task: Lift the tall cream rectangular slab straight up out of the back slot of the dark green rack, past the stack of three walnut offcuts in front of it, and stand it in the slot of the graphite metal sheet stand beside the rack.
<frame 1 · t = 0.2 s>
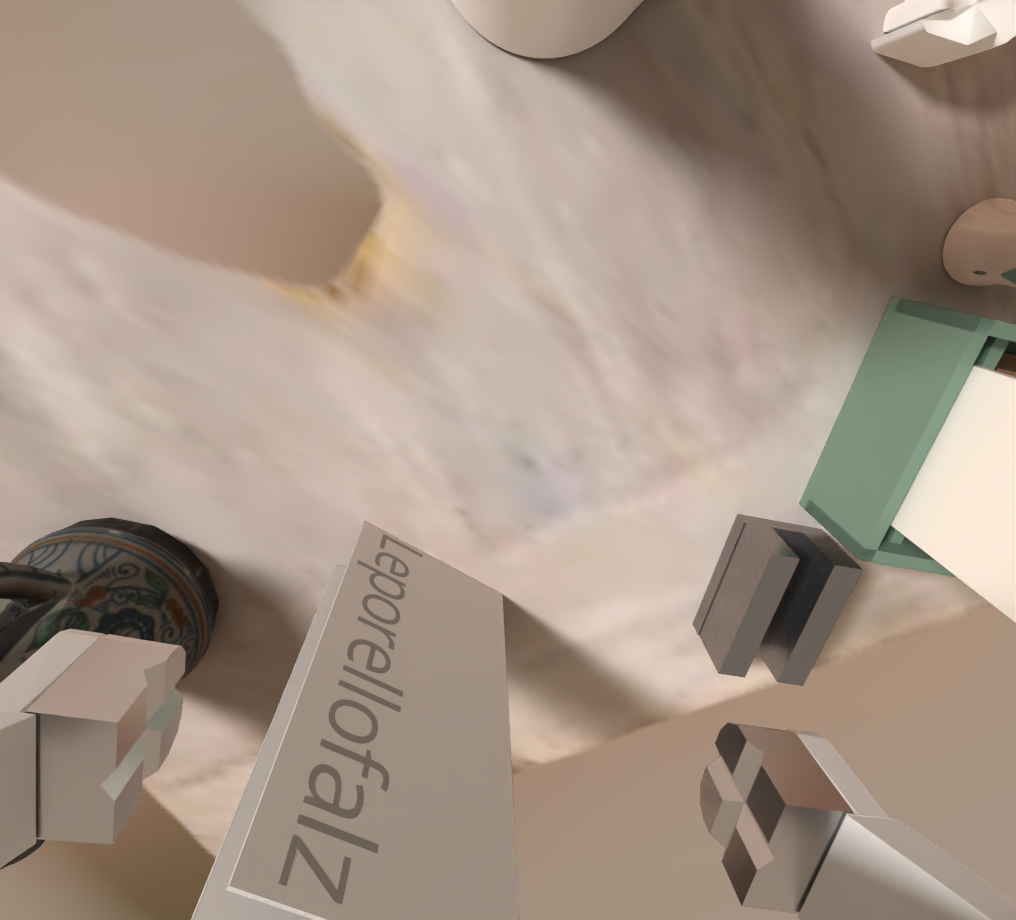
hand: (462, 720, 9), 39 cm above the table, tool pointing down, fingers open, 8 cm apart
offcut rack: (919, 423, 50), on the table
sheet stand: (754, 578, 55), on the table
cream rectangular slab: (874, 416, 48), point 1 cm above the table, touching offcut rack
brochure: (420, 579, 54), on the table
beer glass: (980, 242, 45), on the table
beer stein: (118, 580, 53), on the table
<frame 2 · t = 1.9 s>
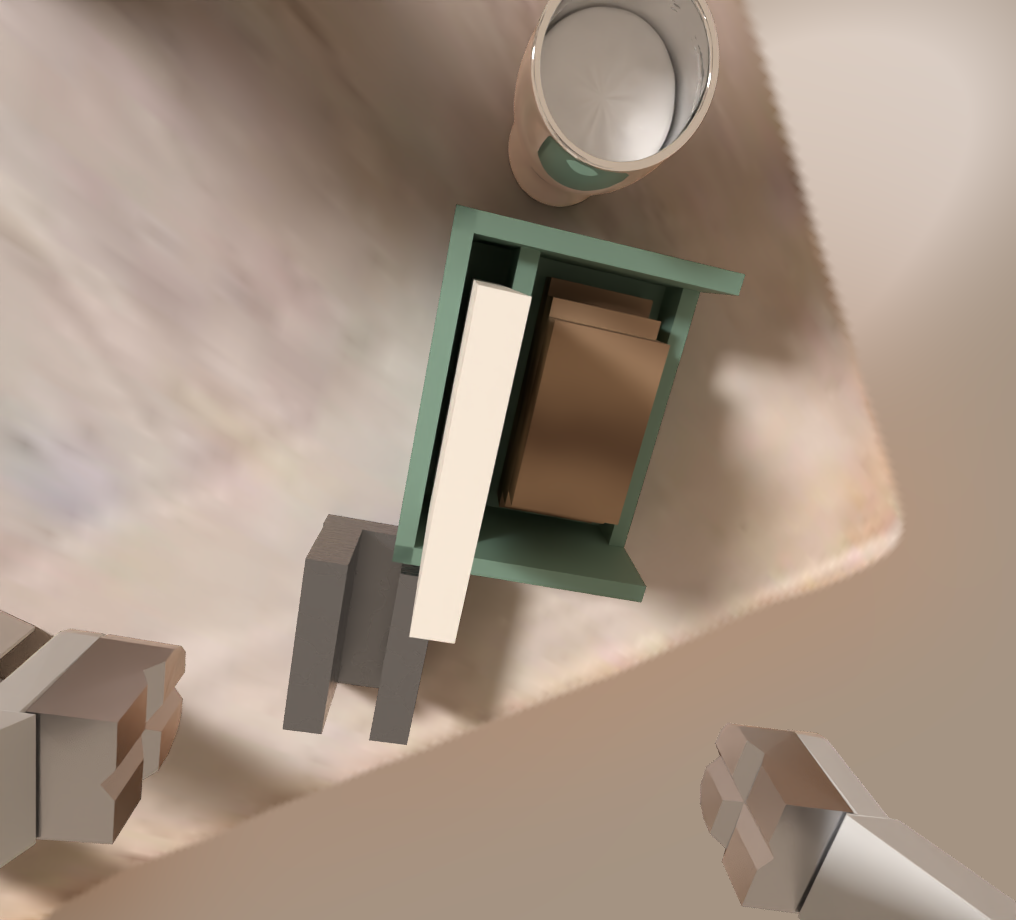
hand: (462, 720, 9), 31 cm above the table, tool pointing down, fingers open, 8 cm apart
offcut rack: (538, 391, 39), on the table
bottom offcut: (566, 399, 38), point 1 cm above the table, touching middle offcut, offcut rack
sheet stand: (374, 601, 43), on the table
cream rectangular slab: (465, 379, 37), point 1 cm above the table, touching offcut rack
beer glass: (559, 150, 35), on the table
middle offcut: (572, 408, 36), point 3 cm above the table, touching bottom offcut, top offcut
top offcut: (580, 417, 34), point 6 cm above the table, touching middle offcut
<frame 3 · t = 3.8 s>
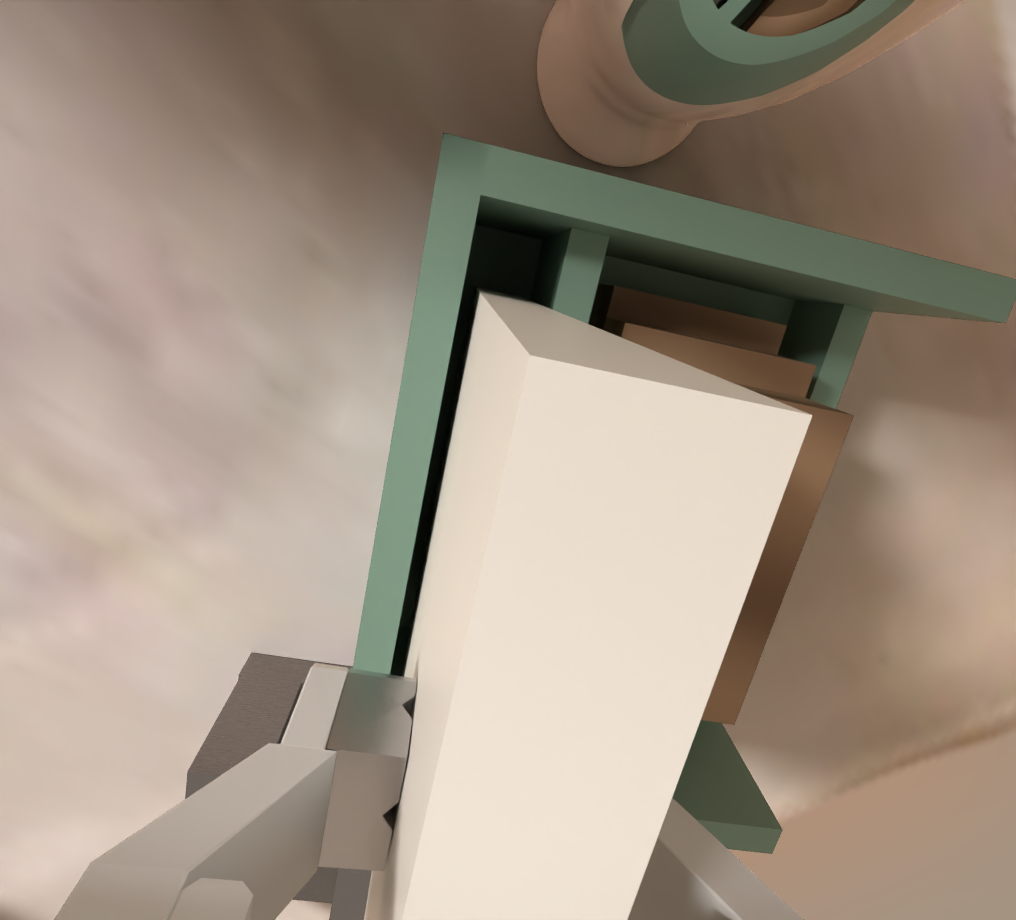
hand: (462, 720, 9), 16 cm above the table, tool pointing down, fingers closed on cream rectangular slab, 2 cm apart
offcut rack: (580, 465, 25), on the table
bottom offcut: (626, 481, 24), point 1 cm above the table, touching middle offcut, offcut rack
sheet stand: (326, 774, 28), on the table
cream rectangular slab: (464, 450, 23), point 1 cm above the table, touching gripper, offcut rack
beer glass: (623, 71, 21), on the table
middle offcut: (643, 503, 21), point 3 cm above the table, touching bottom offcut, top offcut
top offcut: (664, 530, 19), point 6 cm above the table, touching middle offcut
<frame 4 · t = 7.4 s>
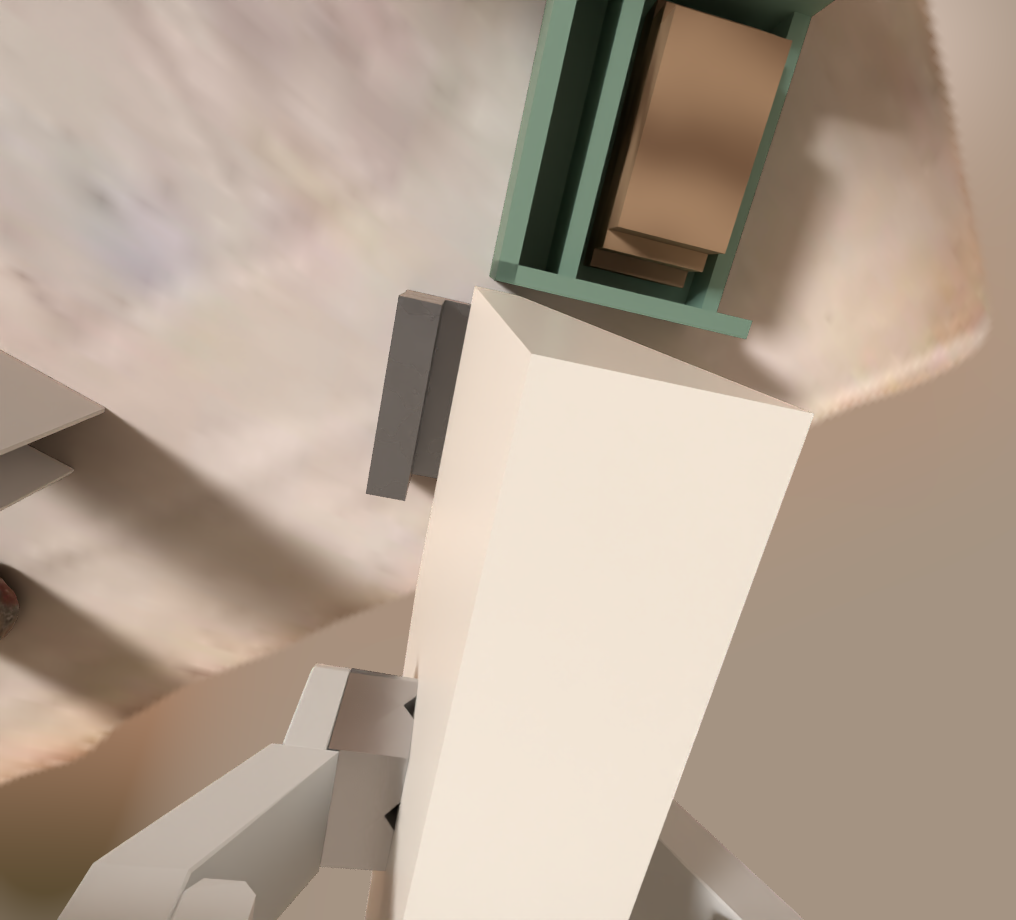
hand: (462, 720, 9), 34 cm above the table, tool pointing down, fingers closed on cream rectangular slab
offcut rack: (628, 155, 38), on the table
bottom offcut: (659, 159, 37), point 1 cm above the table, touching middle offcut, offcut rack
sheet stand: (450, 390, 42), on the table
cream rectangular slab: (464, 450, 23), point 19 cm above the table, touching gripper
middle offcut: (671, 153, 35), point 3 cm above the table, touching bottom offcut, top offcut
top offcut: (685, 145, 32), point 6 cm above the table, touching middle offcut
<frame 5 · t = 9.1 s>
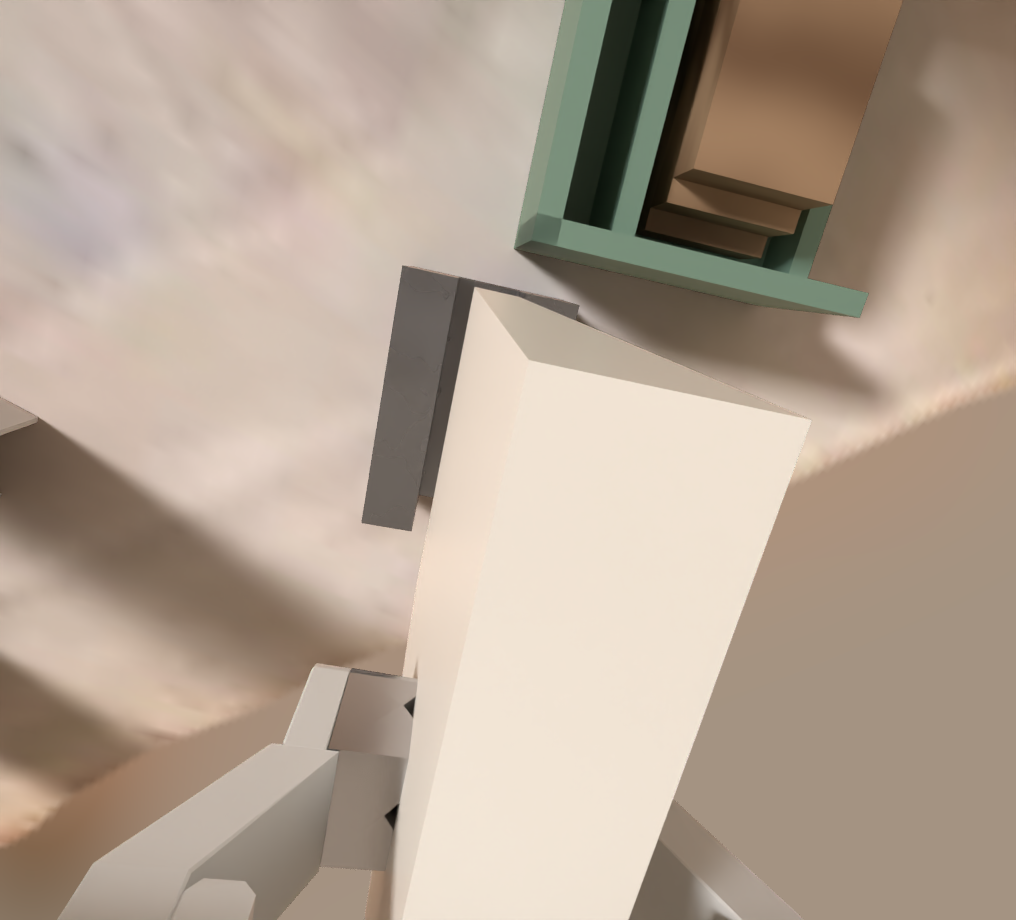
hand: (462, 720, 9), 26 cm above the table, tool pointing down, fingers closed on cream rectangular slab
offcut rack: (688, 94, 30), on the table
bottom offcut: (728, 97, 29), point 1 cm above the table, touching middle offcut, offcut rack
sheet stand: (465, 391, 34), on the table
cream rectangular slab: (463, 451, 23), point 11 cm above the table, touching gripper
middle offcut: (750, 82, 27), point 3 cm above the table, touching bottom offcut, top offcut
top offcut: (777, 65, 25), point 6 cm above the table, touching middle offcut
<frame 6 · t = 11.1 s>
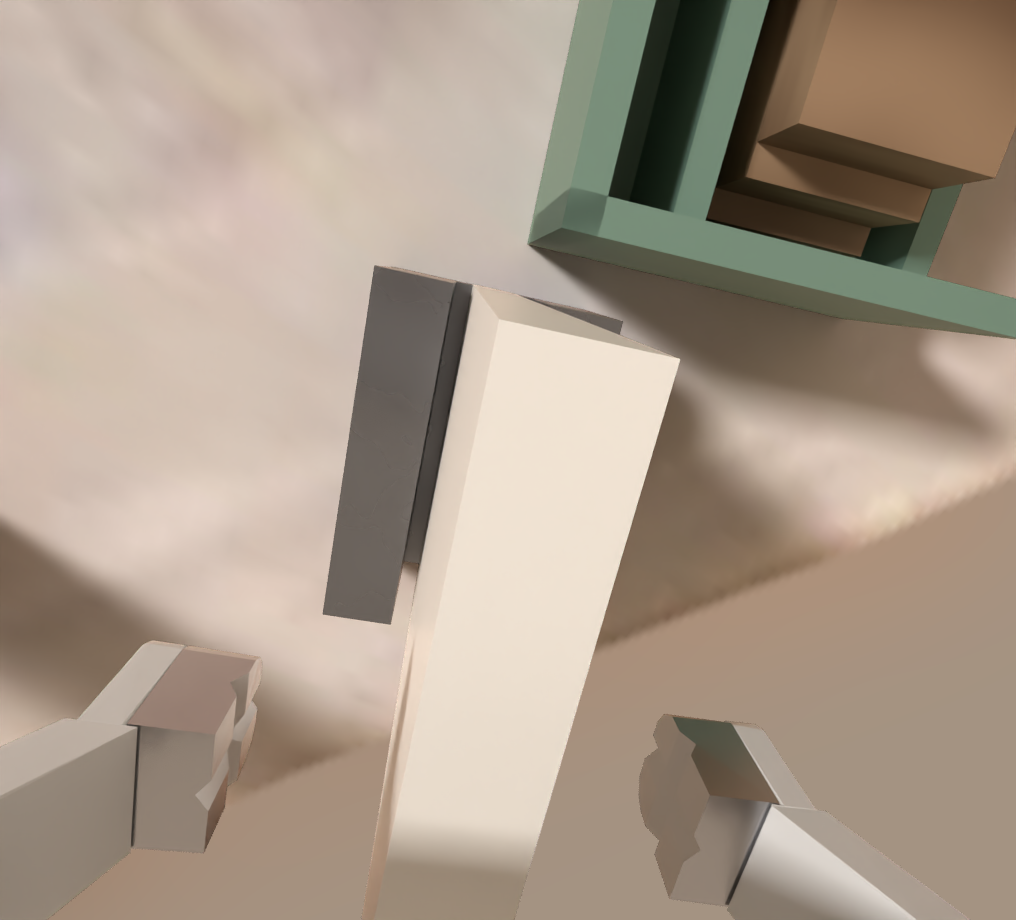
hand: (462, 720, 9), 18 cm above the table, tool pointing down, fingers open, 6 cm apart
offcut rack: (761, 39, 23), on the table
bottom offcut: (816, 41, 22), point 1 cm above the table, touching middle offcut, offcut rack
sheet stand: (464, 428, 26), on the table
cream rectangular slab: (463, 436, 25), point 2 cm above the table, touching sheet stand
middle offcut: (857, 14, 20), point 3 cm above the table, touching bottom offcut, top offcut
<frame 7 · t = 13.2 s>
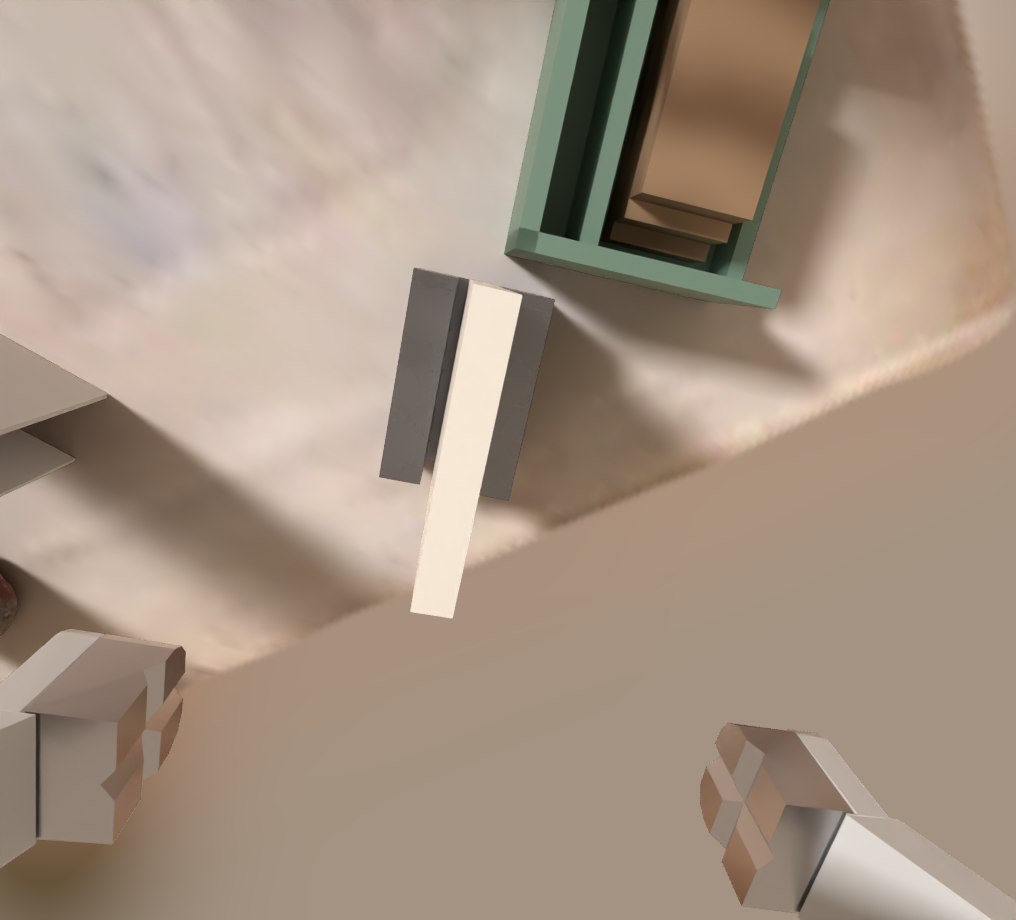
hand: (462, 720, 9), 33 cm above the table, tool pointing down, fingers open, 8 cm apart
offcut rack: (646, 128, 37), on the table
bottom offcut: (678, 131, 36), point 1 cm above the table, touching middle offcut, offcut rack
sheet stand: (464, 373, 40), on the table
cream rectangular slab: (463, 376, 39), point 1 cm above the table, touching sheet stand
middle offcut: (693, 121, 34), point 3 cm above the table, touching bottom offcut, top offcut
top offcut: (709, 110, 31), point 6 cm above the table, touching middle offcut
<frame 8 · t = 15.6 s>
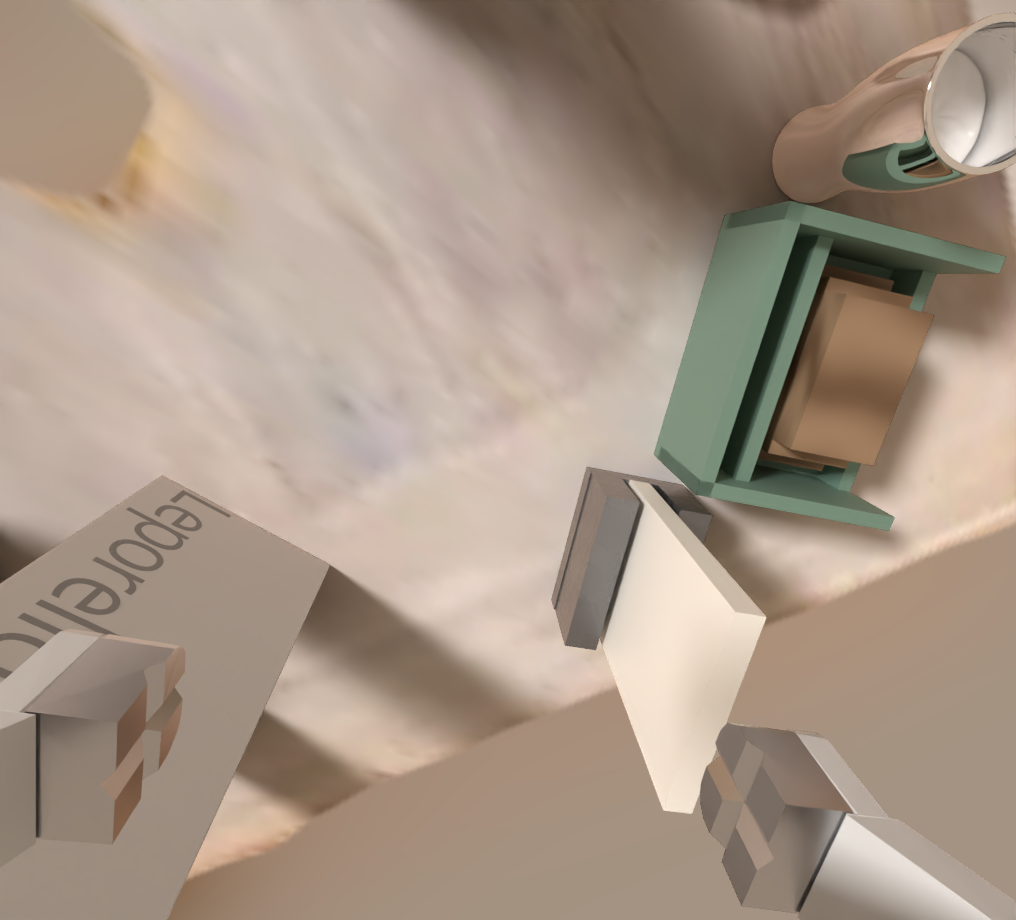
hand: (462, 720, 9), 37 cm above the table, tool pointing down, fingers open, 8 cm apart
offcut rack: (773, 360, 46), on the table
bottom offcut: (800, 366, 45), point 1 cm above the table, touching middle offcut, offcut rack
sheet stand: (615, 543, 50), on the table
cream rectangular slab: (619, 551, 48), point 1 cm above the table, touching sheet stand
brochure: (233, 548, 48), on the table
beer glass: (812, 156, 42), on the table
middle offcut: (818, 372, 43), point 3 cm above the table, touching bottom offcut, top offcut
top offcut: (838, 377, 41), point 6 cm above the table, touching middle offcut
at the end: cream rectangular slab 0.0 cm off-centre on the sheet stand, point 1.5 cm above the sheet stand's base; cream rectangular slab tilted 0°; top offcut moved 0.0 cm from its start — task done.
